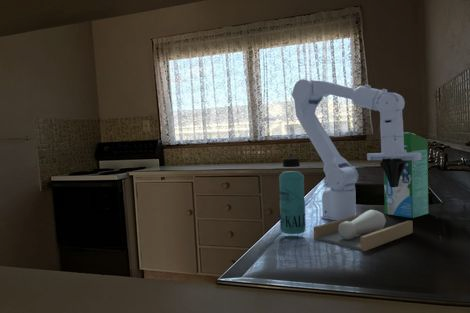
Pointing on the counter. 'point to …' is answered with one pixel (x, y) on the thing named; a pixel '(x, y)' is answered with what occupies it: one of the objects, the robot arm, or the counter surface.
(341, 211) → the robot arm
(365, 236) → the tan u-shaped piece
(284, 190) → the beverage bottle
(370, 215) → the salt shaker
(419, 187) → the milk carton
